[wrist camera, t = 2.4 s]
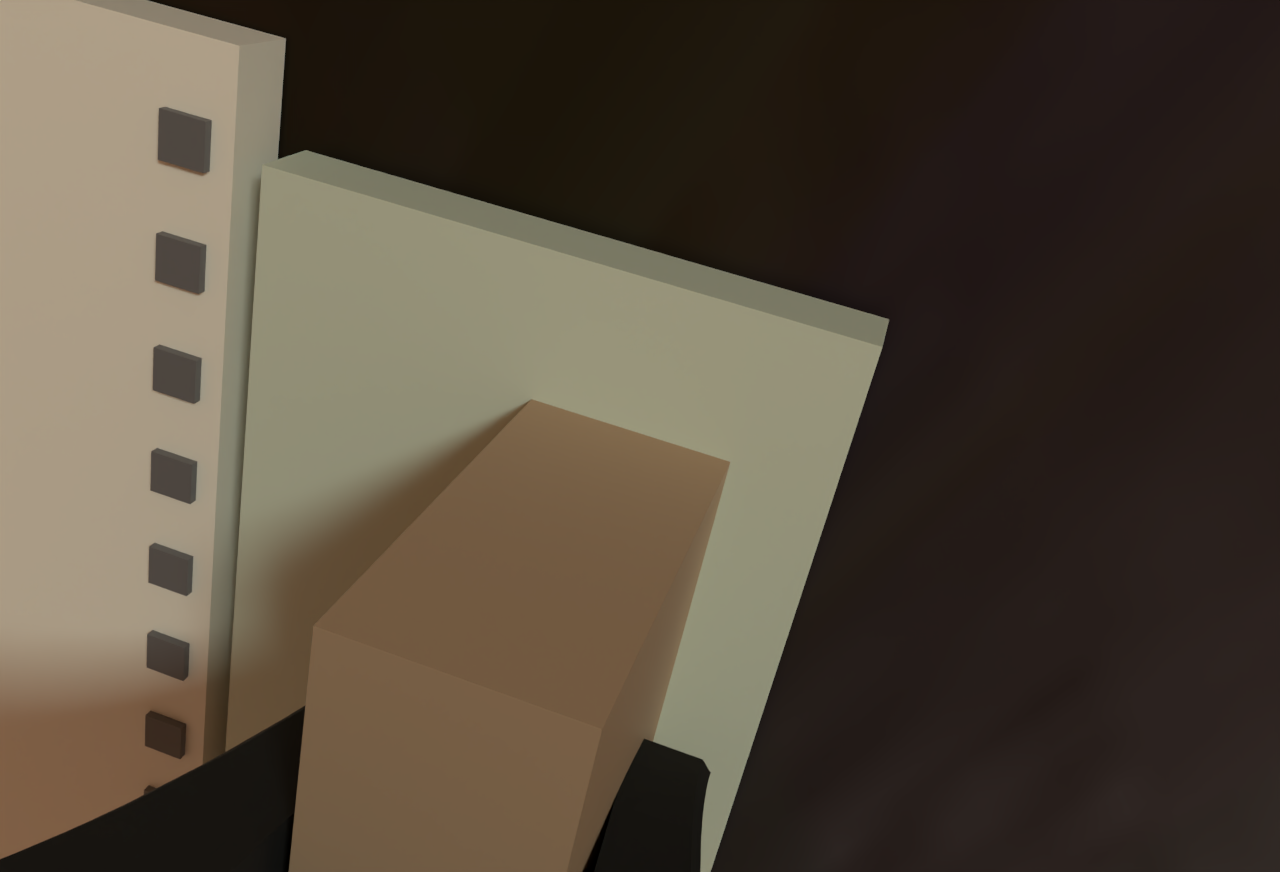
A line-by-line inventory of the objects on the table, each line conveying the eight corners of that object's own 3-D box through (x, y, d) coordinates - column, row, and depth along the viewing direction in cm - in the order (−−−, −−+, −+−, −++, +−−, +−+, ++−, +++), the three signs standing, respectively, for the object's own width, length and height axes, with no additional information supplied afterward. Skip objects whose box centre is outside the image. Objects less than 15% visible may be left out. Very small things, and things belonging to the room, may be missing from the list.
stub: (659, 1021, 15) (528, 1457, 11) (249, 859, 16) (-22, 1201, 12) (888, 320, 11) (824, 584, 6) (305, 150, 12) (-96, 282, 7)
